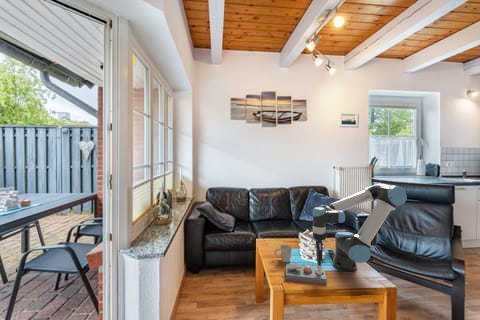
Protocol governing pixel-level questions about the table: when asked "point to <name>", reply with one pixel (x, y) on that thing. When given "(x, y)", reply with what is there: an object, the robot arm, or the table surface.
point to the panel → (305, 275)
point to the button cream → (319, 272)
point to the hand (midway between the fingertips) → (319, 269)
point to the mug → (284, 252)
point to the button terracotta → (307, 269)
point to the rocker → (294, 266)
